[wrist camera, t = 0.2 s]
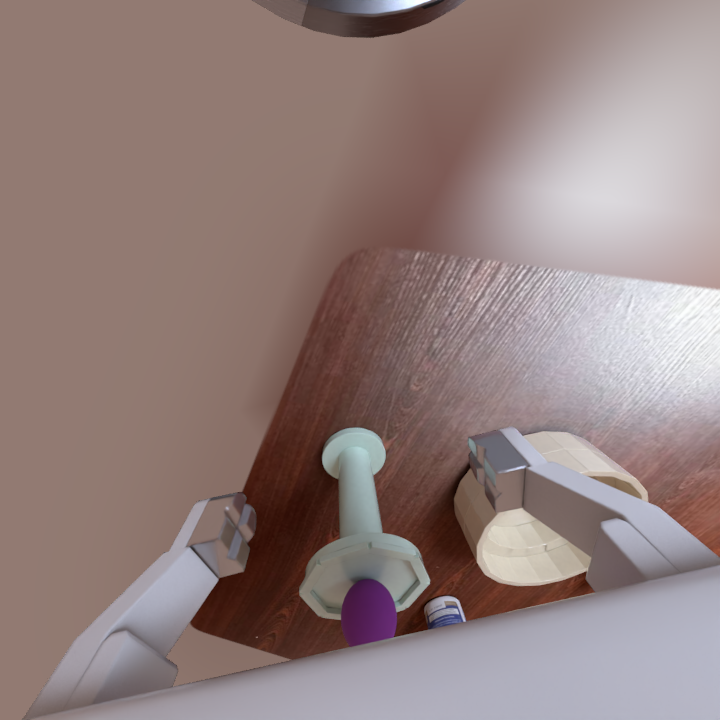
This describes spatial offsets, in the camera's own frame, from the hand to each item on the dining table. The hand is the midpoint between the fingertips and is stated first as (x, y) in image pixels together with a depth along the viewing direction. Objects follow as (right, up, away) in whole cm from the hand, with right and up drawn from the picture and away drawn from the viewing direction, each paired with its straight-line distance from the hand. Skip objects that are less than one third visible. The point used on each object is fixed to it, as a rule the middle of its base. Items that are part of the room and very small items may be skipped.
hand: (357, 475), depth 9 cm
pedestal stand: (-1, -5, +16) cm, 17 cm away
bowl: (+18, -10, +20) cm, 29 cm away
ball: (+1, -10, +5) cm, 11 cm away
